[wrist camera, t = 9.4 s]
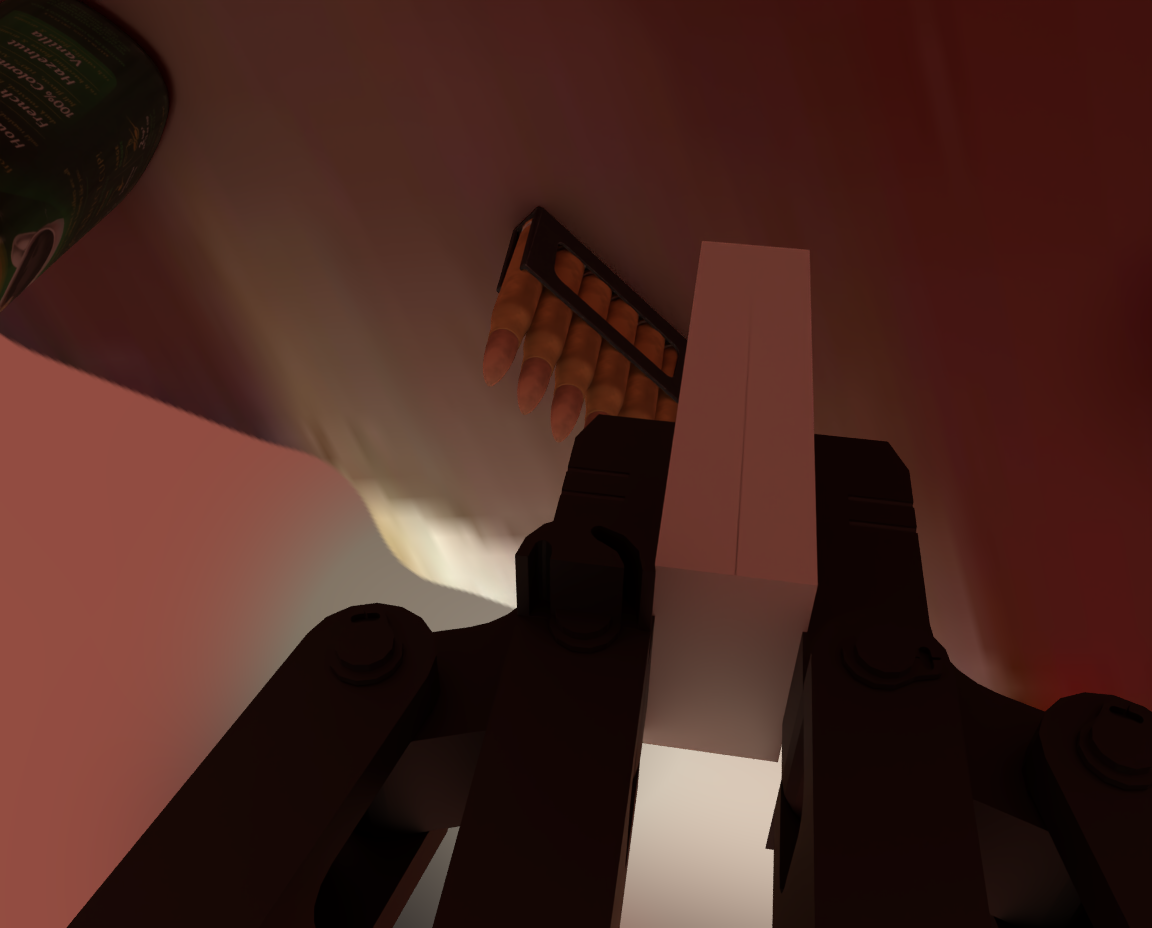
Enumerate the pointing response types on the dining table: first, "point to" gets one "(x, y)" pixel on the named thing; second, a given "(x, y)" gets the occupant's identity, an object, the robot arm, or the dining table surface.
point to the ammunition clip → (579, 333)
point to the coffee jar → (67, 129)
